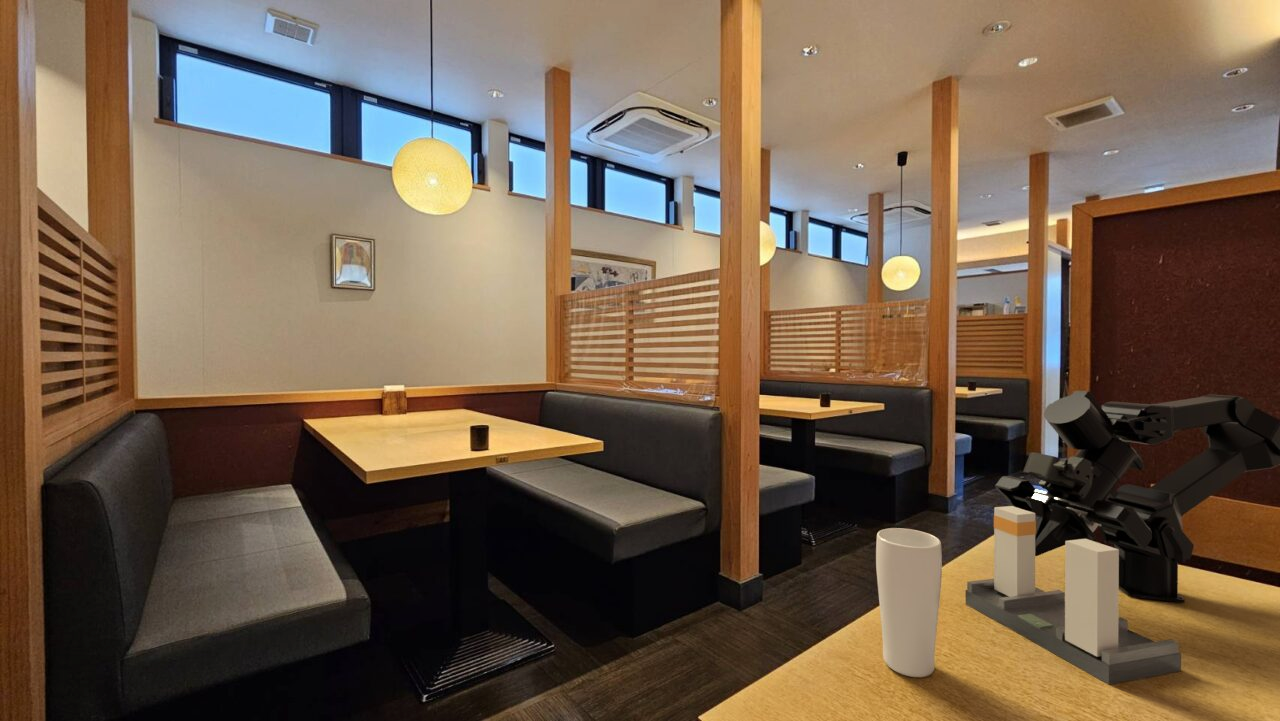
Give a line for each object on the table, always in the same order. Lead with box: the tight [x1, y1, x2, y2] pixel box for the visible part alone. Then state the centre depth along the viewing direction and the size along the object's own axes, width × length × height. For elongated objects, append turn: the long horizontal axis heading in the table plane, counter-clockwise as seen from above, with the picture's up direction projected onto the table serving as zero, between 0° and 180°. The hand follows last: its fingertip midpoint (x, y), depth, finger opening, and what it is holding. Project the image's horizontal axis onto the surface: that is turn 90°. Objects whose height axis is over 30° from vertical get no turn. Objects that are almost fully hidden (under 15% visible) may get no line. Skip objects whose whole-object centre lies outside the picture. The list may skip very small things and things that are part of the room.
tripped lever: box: [993, 505, 1036, 597], centre depth 75 cm, size 3×4×12 cm
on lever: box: [1064, 538, 1120, 657], centre depth 62 cm, size 3×4×12 cm
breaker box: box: [965, 578, 1182, 685], centre depth 69 cm, size 10×19×3 cm, turn 13°
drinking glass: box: [875, 527, 943, 678], centre depth 62 cm, size 7×7×15 cm
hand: (1031, 553), depth 76 cm, fingers closed
